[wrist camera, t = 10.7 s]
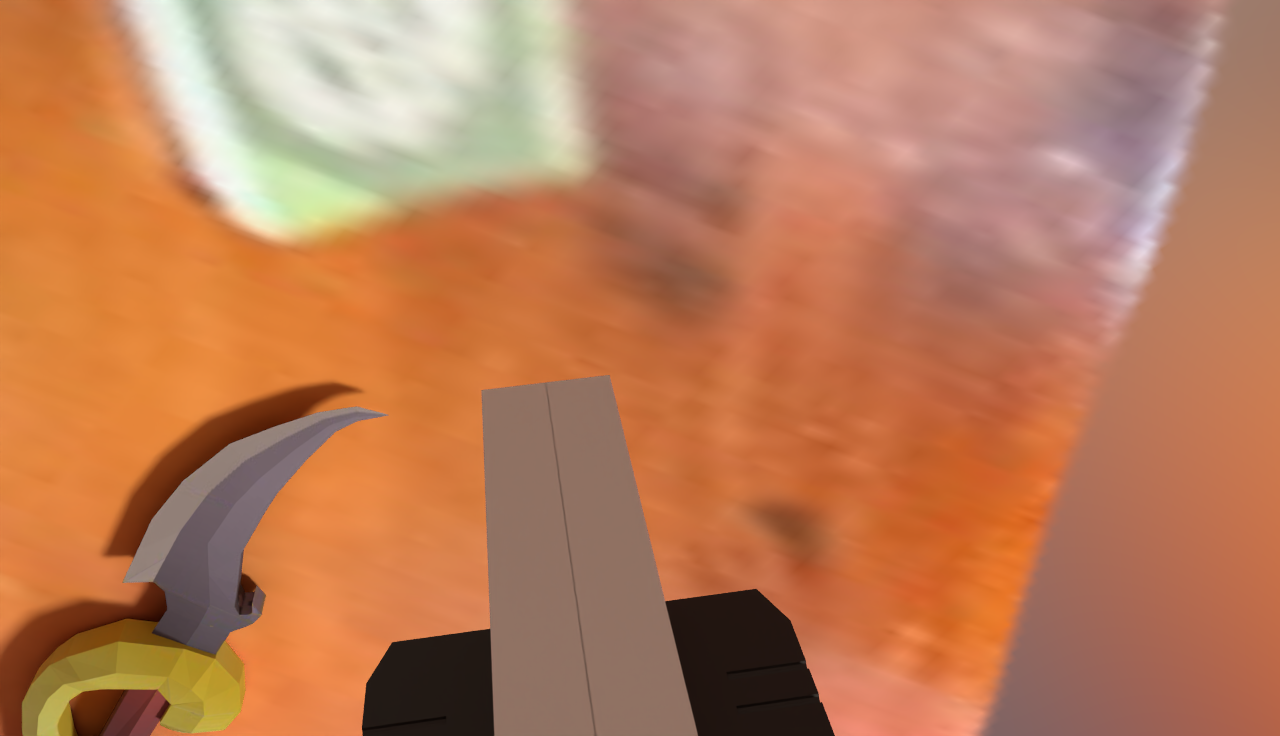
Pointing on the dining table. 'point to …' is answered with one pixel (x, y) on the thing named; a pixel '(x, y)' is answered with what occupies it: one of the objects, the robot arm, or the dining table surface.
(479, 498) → the dining table surface
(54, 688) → the knife
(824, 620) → the dining table surface
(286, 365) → the dining table surface
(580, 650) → the robot arm
